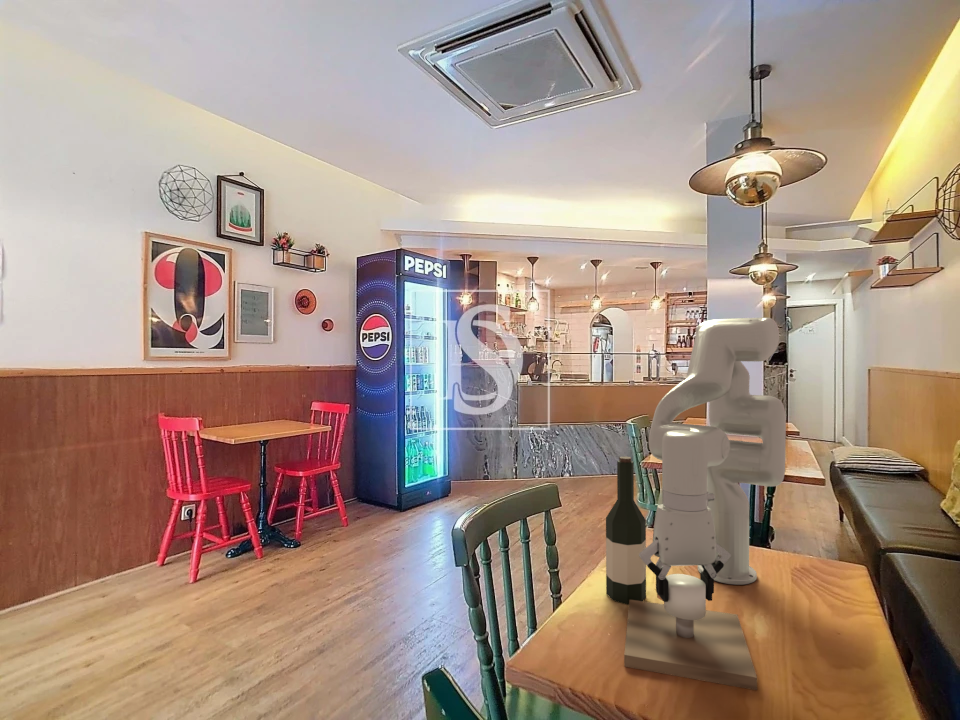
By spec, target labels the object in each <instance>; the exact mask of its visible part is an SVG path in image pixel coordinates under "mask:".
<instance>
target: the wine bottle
mask: <svg viewBox="0 0 960 720" xmlns="http://www.w3.org/2000/svg"><path fill="white" fill-rule="evenodd" d="M616 467H617V468H616V470H617V471H616V474H617V475H616V477H617V478H616V483H617V484H616V487H617V490H616V491H617V495H616V496H617V500H616V501H615V502H614V504H613V506H612V507H611V509H610V511H609V512H608V514H607V516H606V517H605V559H606V560H605V561H606V562H605V579H606V580H605V586H606V589H605V591H606V592H605V593H606V595H607V596H608V597H609V598H610V599H611V600H612V601H613V602H617V603H621V604H625V605H628V606H629V600H637V601H645V599H646V597H647V565H646V564H645V563H644V562H643V560H642V559H641V558H640V557H639V553H640V552H642V551H643V550H644V549H645V548H646V547H647V533H646V532H647V526H646V524H647V519H646V518H645V517H644V514H643V513H642V511H641V509H640V508H639V506H638V505H637V503H636V502H635V499H634V496H635V495H634V490H635V488H634V487H635V485H634V483H635V482H634V481H635V478H634V474H635V472H634V470H635V468H634V467H635V465H634V461H633V460H632V457H630V456H620V457H618V460H617V464H616Z"/></svg>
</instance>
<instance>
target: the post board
mask: <svg viewBox="0 0 960 720" xmlns="http://www.w3.org/2000/svg"><path fill="white" fill-rule="evenodd" d="M626 623H627V624H626V632H625V633H626V634H625V643H624V654H623V655H624V657H623V658H624V659H623V662H624V663H623V665H624V666H623V667H626V668H629V669H630V668H632V669H637V670H641V671H642V670H643V671H646V672H647V671H648V672H653V673H660V674H665V675H669V676H674V677H681V678H685V679H686V678H687V679H693V680H696V681H697V680H698V681H704V682H709V683H714V684H720V685H726V686H732V687H738V688H743V689H747V690H748V689H749V690H754V691H757V690H758V677H757V672H756V669H755V667H754V663H753V661H752V657H751V654H750V650H749V647H748V644H747V641H746V638H745V635H744V631H743V629H742V628H743V627H742V624H741V621H740V618H739V615H738V614H736V613H731V612H730V613H729V612H722V611H714V610H708V609H706V615H705V617H703V618H701V619H698V620H686V619H681V618H677V617H675V616H672V615H671V614H669V613H668V612H667V611H666V610H665V609H664V603H657V602H651V601H650V602H649V601H645V600H643V601H637V600H629V604H628V613H627V622H626Z"/></svg>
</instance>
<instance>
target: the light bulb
mask: <svg viewBox="0 0 960 720" xmlns="http://www.w3.org/2000/svg"><path fill="white" fill-rule="evenodd" d="M666 579H667V580H668V602H664V601H663V600H662V599H661V597H660V596H659V595H658V594H657V593H656V597H657V599H659V600H661V601H662V602H663V604H664V609H665V610H666V611H667V612H668V613H669V614H671V615H672V616H675V617H677V618H681V619H686V620H698V619H701V618H703V617H705V615H706V610H707V608H706V607H707V605H706V603H707V599H706V585H705V583H704V582H703V581H702V580H701V579H700V578H699V577H697V576H694V575H690V574H683V573H672V574H667V575H666Z"/></svg>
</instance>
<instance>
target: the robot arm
mask: <svg viewBox="0 0 960 720" xmlns="http://www.w3.org/2000/svg"><path fill="white" fill-rule="evenodd" d="M779 342H780V330H779V326H778V324H777V322H776V321H775V320H774V319H773V318H772V317H744V318H743V317H740V318H717V319H710V320H709V319H708V320H706V321H703V322H701V323H700V324H699V325H698V324H697V327H696V329H695V337H694V341H693V345H692V351H691V355H690V359H689V363H688V369H687V372H686V377H685V379H684V380H682V381H680V382H679V383H677V384H676V385H675V386H674V387H672V388H671V389H670V390H669V391H668V392H667V393H666V394H665V395H664V396H663V397H662V398H661V400H659V402H658V404H657V406H656V407H655V410H654V414H653V418H652V420H651V426H650V429H649V434H648V449H649V450H650V453H651V455H652V456H653V457H654V459H655V458H656V459H657V460H660V461H662V462H661V463H662V464H661V471H662V473H661V475H662V476H661V478H662V481H661V483H662V487H661V488H662V492H661V493H662V494H661V496H662V497H661V499H662V503H661V504H658V505H657V508H656V512H655V515H654V522H653V530H652V531H653V533H652V542H651V543H650V544H648V545H647V546H646V548H645V549H644V550H643V551H642V552H640V553H639V557H640V558H641V559H642V560H643V562H644V563H645V564H646V567H647V568H648V569H649V570H650V571H651V572H652V573H653V574H654V575H655V592H656V595H657V594H658V595H659V596H660V597H661V599H662V600H663V601H662V600H661V601H662V602H663V603H664V602H668V580H667V579H666V576H668V574H669V571H670V569H671V568H672V567H684V566H685V567H686V566H687V567H688V566H690V567H691V566H697V571H698V572H699V573H700V574H699V576H700V578H699V579H701V580H702V581H703V582H704V583H705V585H706V601H709V602H713V594H714V592H715V582H717V583H722V584H728V585H737V586H739V585H740V586H742V585H749V584H752V583H754V582H756V580H757V577H758V574H757V571H756V570H755V569H754V568H753V567H752V566H750V502H749V499H748V496H747V494H746V493H745V491H744V490H743V488H742V487H741V486H740V484H747V485H756V486H764V487H778V486H779V485H781V484H782V483H783V481H784V479H785V475H786V472H785V471H786V443H787V441H786V439H787V438H786V431H787V419H786V410H785V406H784V403H783V402H782V400H781V399H780V398H778V397H775V396H773V395H765V394H764V395H763V394H762V395H761V394H760V395H759V394H751V393H750V379H751V377H750V372H749V370H748V369H747V368H746V366H745V365H744V364H743V362H765V361H767V360H768V359H769V358H770V357H771V356H772V355H773V354H774V353H775V352H776V351H777V348H778V346H779ZM707 403H708V404H709V405H708V420H709V421H708V422H709V425H699V424H689V423H680V422H679V423H677V422H674V420H675V419H676V418H677V417H678V416H679V415H680V414H682V413H683V412H685V411H687V410H689V409H691V408H695V407H697V406H700V405H704V404H707ZM727 434H728V435H736V436H749V437H758V438H760V439H761V440H762V442H754V441H744V440H736V439H729V437H728V435H727ZM652 556H655V557H657V558H658V559H657V561H656V563H654V561H653V560H652V559H651V558H652Z"/></svg>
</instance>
